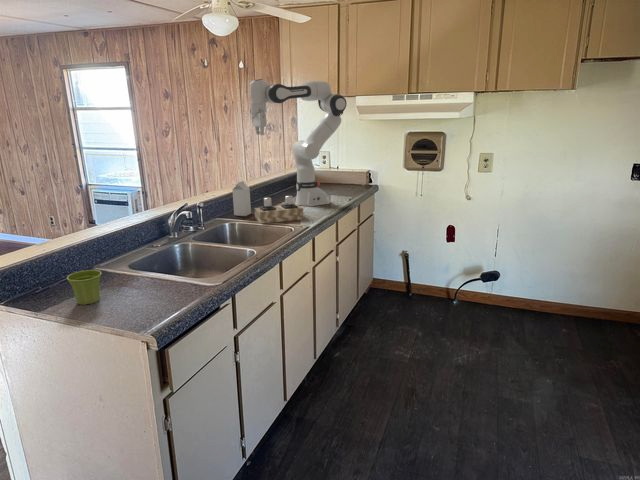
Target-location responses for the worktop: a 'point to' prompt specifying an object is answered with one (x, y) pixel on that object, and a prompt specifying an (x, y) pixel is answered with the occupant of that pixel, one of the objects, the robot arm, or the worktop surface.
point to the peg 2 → (289, 200)
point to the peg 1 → (267, 203)
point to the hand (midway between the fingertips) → (260, 134)
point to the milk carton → (241, 199)
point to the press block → (278, 213)
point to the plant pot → (85, 286)
